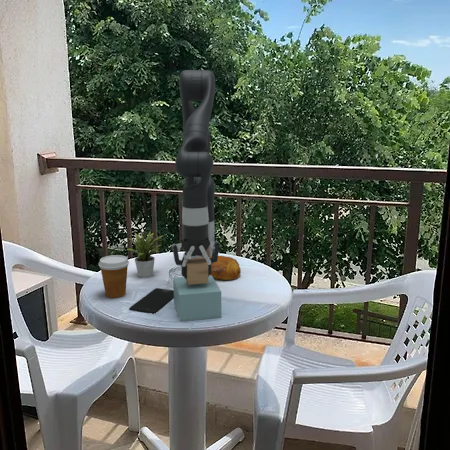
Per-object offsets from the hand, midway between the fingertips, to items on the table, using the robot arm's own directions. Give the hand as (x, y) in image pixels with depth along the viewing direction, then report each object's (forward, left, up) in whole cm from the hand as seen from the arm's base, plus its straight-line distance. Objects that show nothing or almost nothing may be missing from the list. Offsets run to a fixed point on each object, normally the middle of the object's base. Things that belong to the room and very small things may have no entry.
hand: (196, 276), depth 150 cm
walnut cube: (0, 0, -1) cm, 1 cm away
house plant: (-33, -13, -11) cm, 37 cm away
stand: (0, 0, -10) cm, 10 cm away
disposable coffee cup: (-18, -24, -11) cm, 31 cm away
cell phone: (-10, -12, -11) cm, 19 cm away
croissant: (-29, +14, -11) cm, 34 cm away
